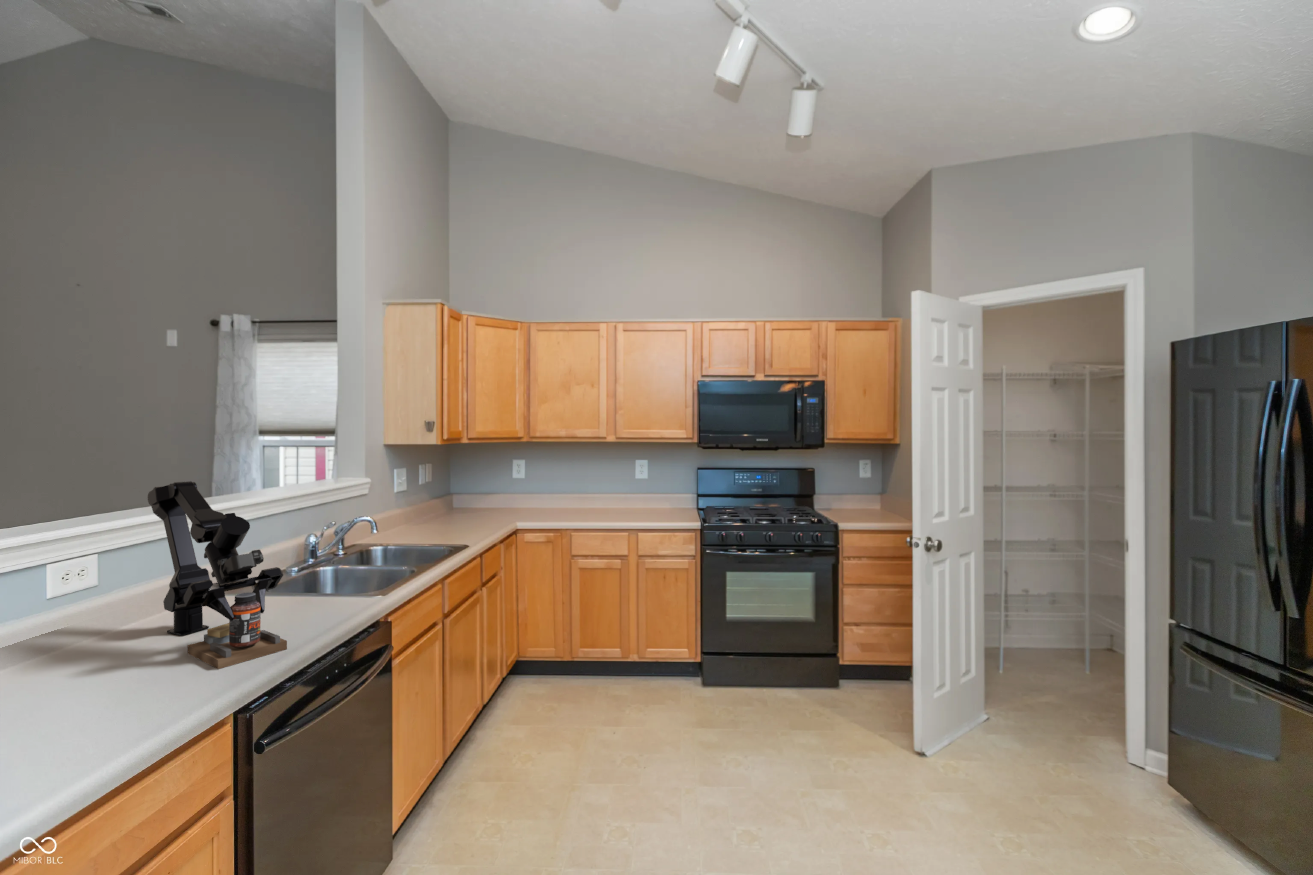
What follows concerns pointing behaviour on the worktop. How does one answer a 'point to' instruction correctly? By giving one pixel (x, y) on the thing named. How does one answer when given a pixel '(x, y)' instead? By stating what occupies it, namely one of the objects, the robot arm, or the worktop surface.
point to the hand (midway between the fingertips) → (248, 615)
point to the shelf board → (223, 655)
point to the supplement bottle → (245, 621)
